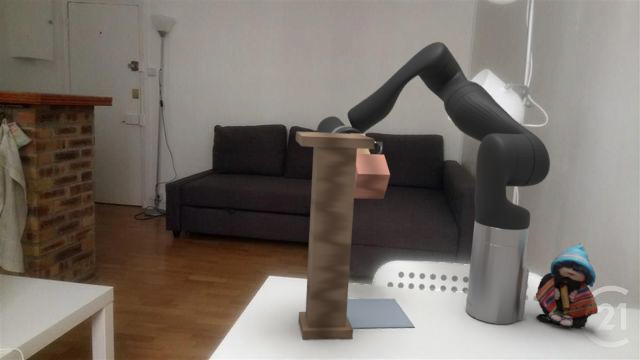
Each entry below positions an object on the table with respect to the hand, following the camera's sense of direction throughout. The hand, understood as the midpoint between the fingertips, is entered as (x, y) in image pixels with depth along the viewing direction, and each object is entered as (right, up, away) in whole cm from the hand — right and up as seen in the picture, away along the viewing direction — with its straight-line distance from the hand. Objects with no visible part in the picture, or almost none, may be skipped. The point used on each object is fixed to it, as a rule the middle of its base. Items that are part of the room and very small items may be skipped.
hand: (362, 151), depth 100 cm
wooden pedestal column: (-8, -30, -17) cm, 35 cm away
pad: (+1, -30, -11) cm, 32 cm away
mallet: (0, -4, 0) cm, 4 cm away
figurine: (+35, -32, -12) cm, 49 cm away
